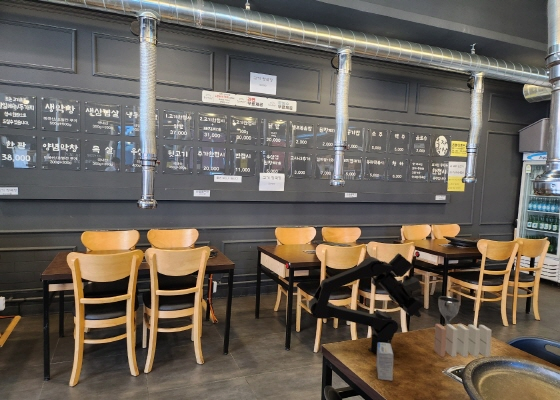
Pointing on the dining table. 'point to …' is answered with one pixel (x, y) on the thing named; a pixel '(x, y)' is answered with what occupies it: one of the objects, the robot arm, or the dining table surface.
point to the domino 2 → (451, 340)
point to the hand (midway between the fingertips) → (419, 316)
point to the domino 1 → (440, 340)
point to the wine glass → (448, 307)
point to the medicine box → (384, 361)
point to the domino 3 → (462, 340)
